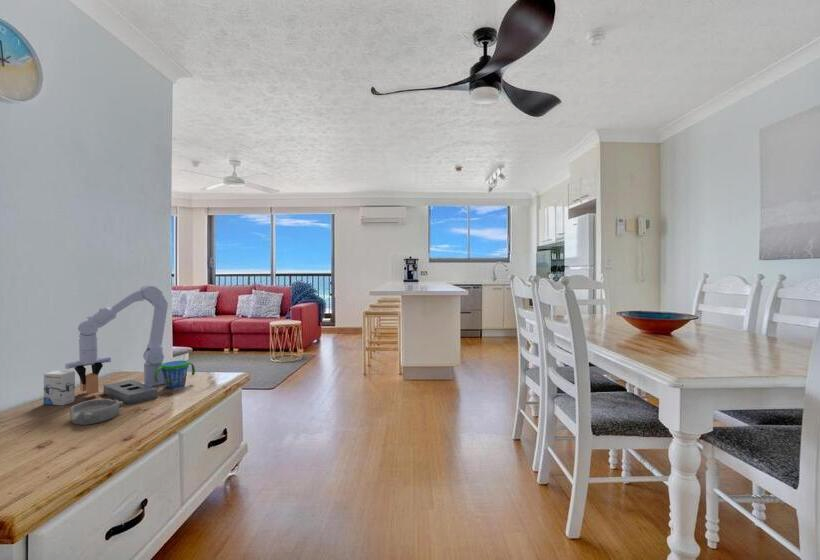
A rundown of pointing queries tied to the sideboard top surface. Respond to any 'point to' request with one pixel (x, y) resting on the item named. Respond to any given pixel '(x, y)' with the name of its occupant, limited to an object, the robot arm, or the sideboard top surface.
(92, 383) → the tan rectangular block
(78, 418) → the dish
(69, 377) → the ink box
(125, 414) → the sideboard top surface
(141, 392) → the grey slotted block
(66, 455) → the sideboard top surface
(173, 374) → the snack cup
